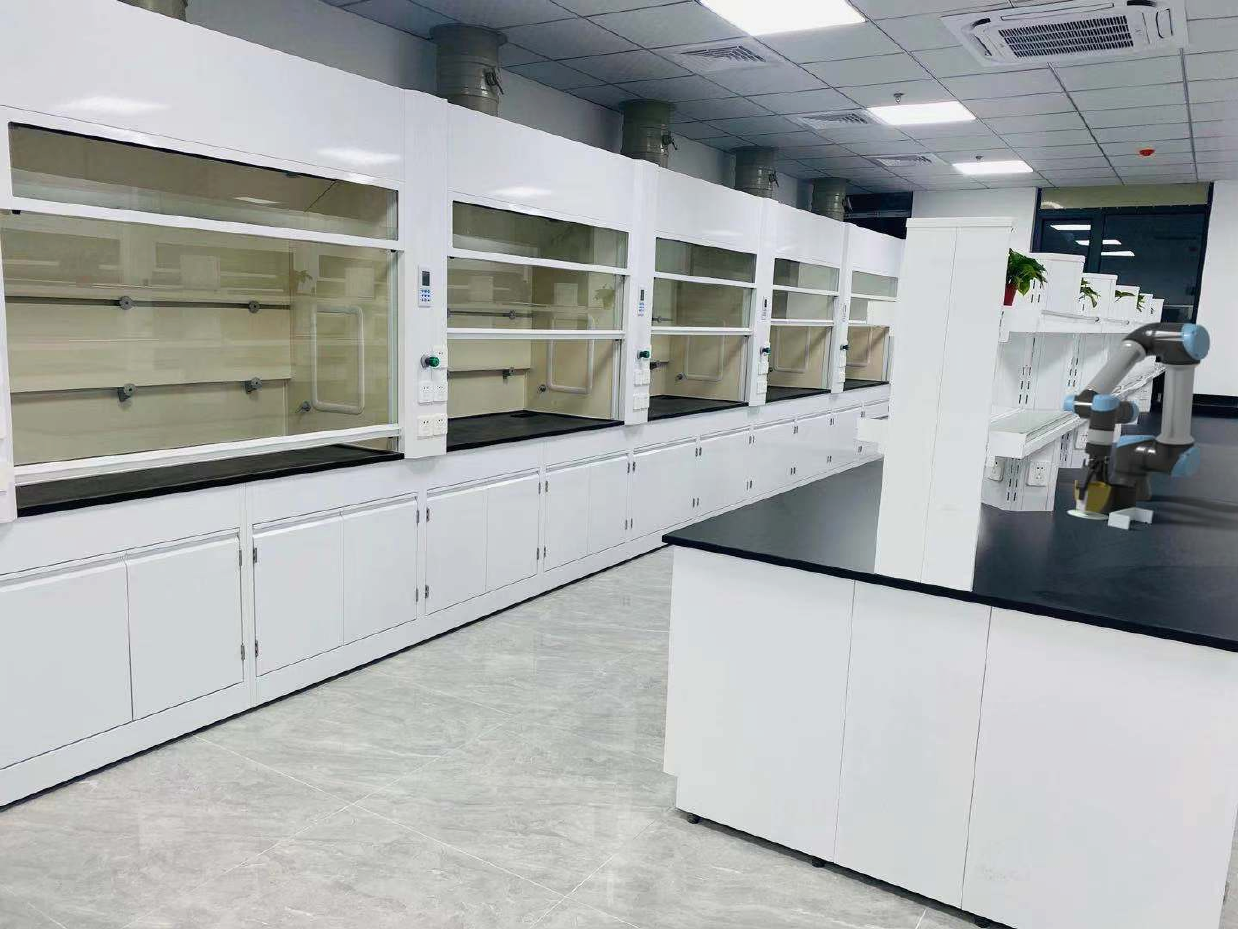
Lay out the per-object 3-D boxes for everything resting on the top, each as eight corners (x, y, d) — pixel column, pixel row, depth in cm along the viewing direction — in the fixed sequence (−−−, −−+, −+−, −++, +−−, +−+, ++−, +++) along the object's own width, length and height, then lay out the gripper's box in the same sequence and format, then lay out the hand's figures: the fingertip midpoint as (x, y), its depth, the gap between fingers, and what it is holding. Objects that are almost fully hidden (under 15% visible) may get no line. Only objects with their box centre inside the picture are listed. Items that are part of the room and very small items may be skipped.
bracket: (1132, 519, 291) (1133, 507, 290) (1151, 523, 286) (1153, 511, 286) (1107, 525, 280) (1109, 512, 279) (1127, 529, 275) (1129, 516, 274)
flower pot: (1107, 514, 288) (1111, 487, 286) (1078, 512, 289) (1082, 484, 288) (1098, 508, 296) (1102, 482, 294) (1070, 506, 298) (1074, 479, 296)
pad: (1077, 509, 301) (1077, 508, 301) (1114, 517, 292) (1115, 516, 292) (1061, 513, 294) (1061, 512, 294) (1098, 521, 285) (1098, 520, 285)
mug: (1141, 513, 302) (1145, 487, 300) (1128, 517, 294) (1132, 490, 292) (1111, 507, 309) (1115, 481, 307) (1098, 511, 301) (1102, 485, 299)
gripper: (1103, 439, 299) (1093, 502, 303) (1070, 442, 284) (1060, 509, 288) (1127, 442, 293) (1116, 506, 297) (1094, 446, 278) (1084, 514, 282)
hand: (1089, 508), depth 293 cm, fingers closed on flower pot, 12 cm apart
